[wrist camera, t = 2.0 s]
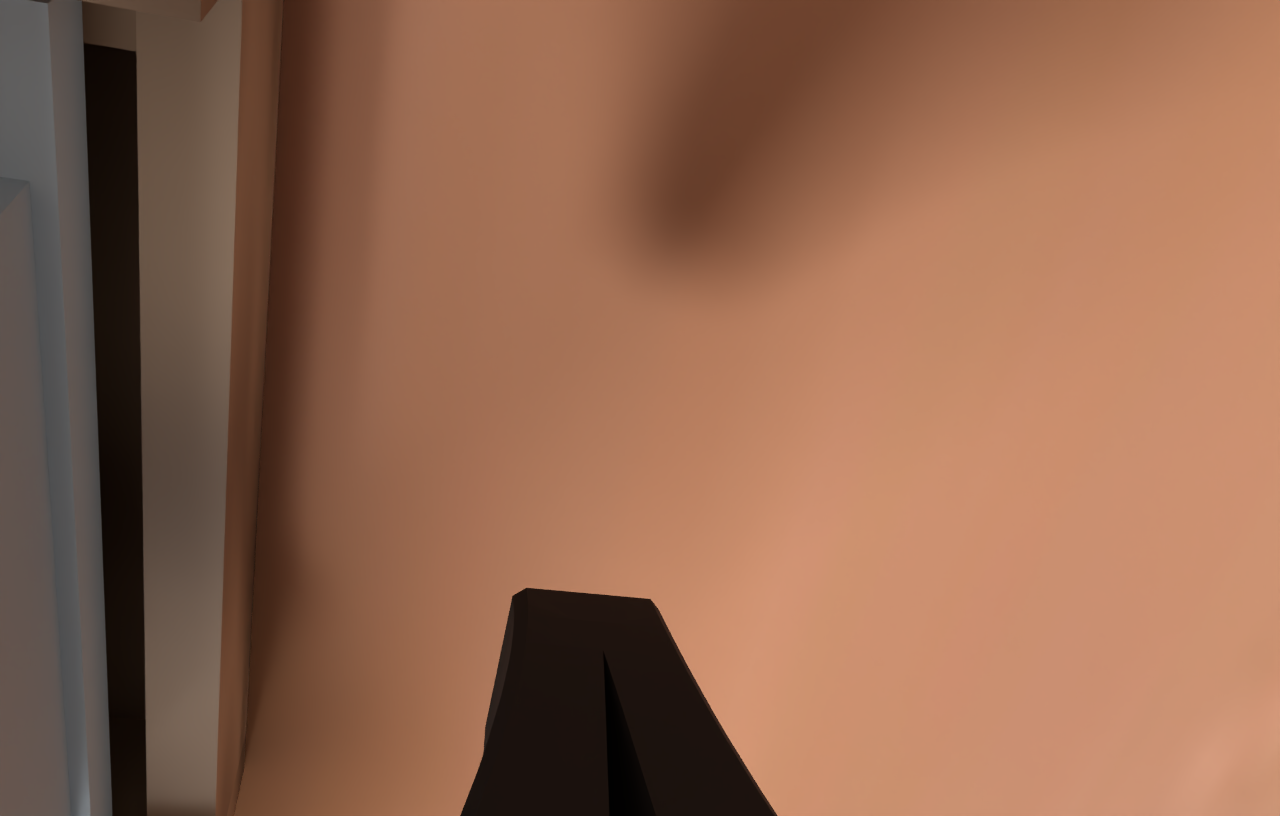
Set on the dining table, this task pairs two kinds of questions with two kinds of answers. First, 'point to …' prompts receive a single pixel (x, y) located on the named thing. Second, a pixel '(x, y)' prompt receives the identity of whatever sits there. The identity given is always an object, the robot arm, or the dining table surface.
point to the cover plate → (48, 429)
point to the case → (180, 377)
